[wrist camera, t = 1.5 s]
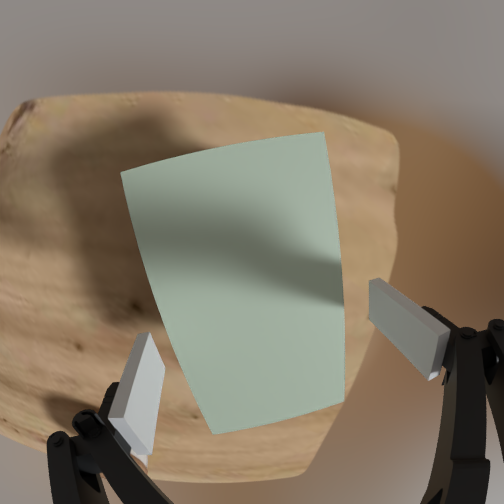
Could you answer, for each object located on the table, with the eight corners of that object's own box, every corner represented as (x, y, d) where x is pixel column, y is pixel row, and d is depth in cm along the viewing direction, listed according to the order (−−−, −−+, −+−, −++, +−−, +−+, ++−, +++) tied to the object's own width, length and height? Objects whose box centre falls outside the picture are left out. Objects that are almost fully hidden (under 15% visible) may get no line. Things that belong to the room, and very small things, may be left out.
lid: (329, 376, 23) (344, 401, 20) (211, 405, 22) (212, 434, 19) (303, 138, 17) (323, 131, 14) (136, 172, 16) (120, 172, 13)
